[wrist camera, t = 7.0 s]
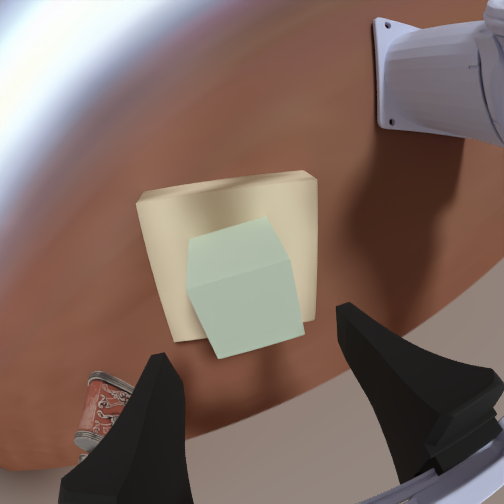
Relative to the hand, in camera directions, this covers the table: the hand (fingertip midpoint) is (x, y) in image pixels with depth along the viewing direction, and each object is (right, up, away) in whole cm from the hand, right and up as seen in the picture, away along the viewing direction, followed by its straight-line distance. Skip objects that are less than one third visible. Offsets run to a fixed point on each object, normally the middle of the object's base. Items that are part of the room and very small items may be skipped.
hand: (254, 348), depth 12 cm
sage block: (-1, +3, +6) cm, 7 cm away
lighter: (-12, -10, +14) cm, 21 cm away
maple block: (-1, +4, +9) cm, 10 cm away
